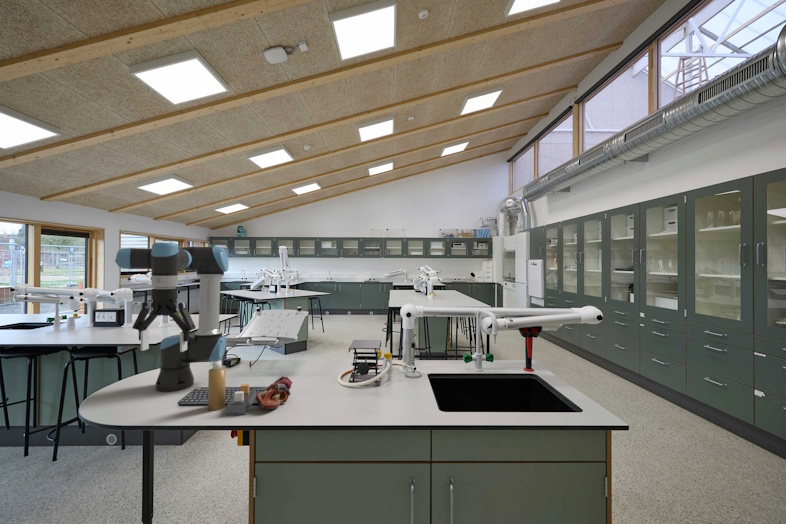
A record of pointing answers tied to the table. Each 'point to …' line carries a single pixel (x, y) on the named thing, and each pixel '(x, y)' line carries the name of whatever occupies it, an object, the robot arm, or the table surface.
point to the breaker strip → (241, 404)
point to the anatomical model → (275, 394)
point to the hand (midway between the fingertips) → (164, 350)
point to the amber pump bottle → (216, 387)
